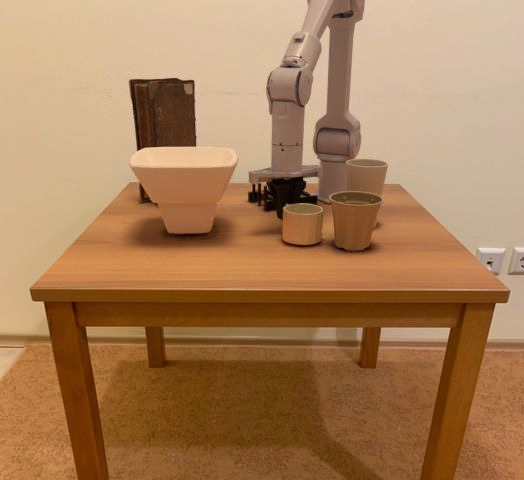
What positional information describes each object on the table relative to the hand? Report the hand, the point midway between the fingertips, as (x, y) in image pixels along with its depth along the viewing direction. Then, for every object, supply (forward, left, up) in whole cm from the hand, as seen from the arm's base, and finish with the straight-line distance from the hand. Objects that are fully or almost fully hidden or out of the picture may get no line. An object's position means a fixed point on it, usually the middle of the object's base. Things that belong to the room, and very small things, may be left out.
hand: (284, 218), depth 99 cm
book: (+12, -33, -3) cm, 35 cm away
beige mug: (0, +5, -2) cm, 5 cm away
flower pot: (-7, +13, -3) cm, 15 cm away
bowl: (+17, -7, -3) cm, 19 cm away
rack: (-9, -18, -2) cm, 20 cm away
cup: (-16, +3, -3) cm, 16 cm away
